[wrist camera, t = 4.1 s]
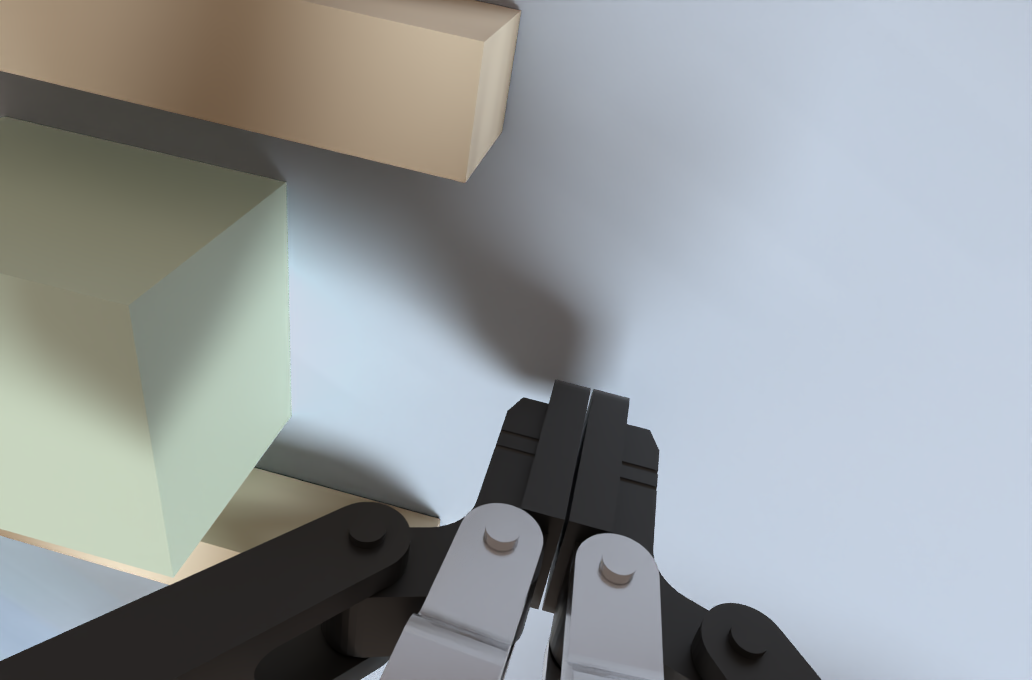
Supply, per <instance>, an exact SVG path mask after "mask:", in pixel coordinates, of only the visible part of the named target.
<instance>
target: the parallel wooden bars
mask: <svg viewBox="0 0 1032 680" xmlns="http://www.w3.org/2000/svg"><path fill="white" fill-rule="evenodd" d="M520 15H521V10H516V9H512V8H507V7H503V6H498V5H494V4H489V3H485V2H480V1H476V0H0V71H3V72H7V73H11V74H15V75H20V76H24V77H28V78H32V79H36V80H40V81H44V82H49V83H53V84H57V85H61V86H65V87H69V88H73V89H78V90H82V91H86V92H90V93H94V94H98V95H103V96H107V97H111V98H115V99H119V100H123V101H127V102H132V103H136V104H140V105H144V106H148V107H152V108H156V109H161V110H165V111H169V112H173V113H177V114H181V115H185V116H190V117H194V118H198V119H202V120H206V121H210V122H215V123H219V124H223V125H227V126H231V127H235V128H239V129H244V130H248V131H252V132H256V133H260V134H264V135H268V136H273V137H277V138H281V139H285V140H289V141H293V142H298V143H302V144H306V145H310V146H314V147H318V148H322V149H327V150H331V151H335V152H339V153H343V154H347V155H351V156H356V157H360V158H364V159H368V160H372V161H376V162H380V163H385V164H389V165H393V166H397V167H401V168H405V169H410V170H414V171H418V172H422V173H426V174H430V175H434V176H439V177H443V178H447V179H451V180H455V181H459V182H463V183H466V181H467V180H468V179H469V177H470V176H471V174H472V173H473V172H474V170H475V169H476V167H477V166H478V165H479V163H480V162H481V160H482V159H483V158H484V156H485V155H486V154H487V152H488V151H489V149H490V148H491V147H492V145H493V144H494V142H495V141H496V140H497V138H498V137H499V135H500V134H501V133H502V129H503V122H504V116H505V110H506V103H507V97H508V91H509V85H510V78H511V72H512V66H513V59H514V53H515V47H516V40H517V34H518V28H519V22H520ZM358 502H377V501H373V500H370V499H366V498H362V497H359V496H355V495H352V494H348V493H344V492H341V491H337V490H333V489H330V488H326V487H323V486H319V485H315V484H312V483H308V482H305V481H301V480H297V479H294V478H290V477H287V476H283V475H279V474H276V473H272V472H268V471H265V470H261V469H258V468H253V470H252V471H251V472H250V474H249V475H248V476H247V478H246V479H245V481H244V482H243V483H242V485H241V486H240V487H239V489H238V490H237V492H236V493H235V494H234V496H233V497H232V498H231V500H230V501H229V503H228V504H227V505H226V507H225V508H224V509H223V511H222V512H221V513H220V515H219V516H218V518H217V519H216V520H215V522H214V523H213V524H212V526H211V527H210V529H209V530H208V531H207V533H206V534H205V535H204V537H203V538H202V540H201V541H200V542H199V544H198V545H197V546H196V548H195V549H194V550H193V552H192V553H191V555H190V556H189V557H188V559H187V560H186V561H185V563H184V564H183V566H182V567H181V568H180V570H179V571H178V572H177V574H176V575H175V577H174V578H172V577H169V576H165V575H162V574H158V573H154V572H151V571H147V570H144V569H140V568H137V567H133V566H130V565H126V564H123V563H119V562H116V561H112V560H109V559H105V558H101V557H98V556H94V555H91V554H87V553H84V552H80V551H77V550H73V549H70V548H66V547H63V546H59V545H55V544H52V543H48V542H45V541H41V540H38V539H34V538H31V537H27V536H24V535H20V534H17V533H13V532H10V531H6V530H2V529H0V536H4V537H7V538H11V539H14V540H17V541H21V542H24V543H28V544H31V545H35V546H38V547H41V548H45V549H48V550H52V551H55V552H59V553H62V554H65V555H69V556H72V557H76V558H79V559H82V560H86V561H89V562H93V563H96V564H100V565H103V566H106V567H110V568H113V569H117V570H120V571H124V572H127V573H130V574H134V575H137V576H141V577H144V578H147V579H151V580H154V581H158V582H161V583H165V584H168V585H171V584H173V583H175V582H178V581H180V580H182V579H184V578H187V577H189V576H191V575H193V574H195V573H198V572H200V571H202V570H204V569H207V568H209V567H211V566H213V565H215V564H218V563H220V562H222V561H224V560H227V559H229V558H231V557H233V556H235V555H238V554H240V553H242V552H244V551H247V550H249V549H251V548H253V547H256V546H258V545H260V544H262V543H264V542H267V541H269V540H271V539H273V538H276V537H278V536H280V535H282V534H284V533H287V532H289V531H291V530H293V529H296V528H298V527H300V526H302V525H304V524H307V523H309V522H311V521H313V520H316V519H318V518H320V517H322V516H324V515H327V514H329V513H331V512H333V511H336V510H338V509H340V508H342V507H345V506H347V505H350V504H353V503H358ZM377 503H380V502H377ZM382 504H384V503H382ZM385 505H388V504H385ZM388 506H390V507H392V508H394V509H395V510H397V511H398V512H400V513H401V514H402V515H403V516H404V518H405V519H406V521H407V522H408V524H409V527H439V526H440V519H438V518H435V517H431V516H427V515H424V514H420V513H416V512H413V511H409V510H406V509H402V508H398V507H395V506H391V505H388Z"/></svg>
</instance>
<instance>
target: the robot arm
mask: <svg viewBox="0 0 1032 680" xmlns="http://www.w3.org/2000/svg"><path fill="white" fill-rule="evenodd" d="M590 390H591V388H587V387H583V386H579V385H575V384H571V383H568V382H564V381H560V380H555V383H554V387H553V391H552V394H551V398H550V402H549V404H547V403H543V402H539V401H535V400H532V399H528V398H524V397H523V398H522V399H521V400H520V401H519V402H517V403H516V404H515V405H514V406H513V407H512V408H510V409H509V410H508V411H507V414H506V417H505V420H504V423H503V426H502V429H501V433H500V435H499V438H498V441H497V444H496V447H495V449H494V452H493V455H492V458H491V461H490V464H489V467H488V470H487V473H486V476H485V479H484V482H483V484H482V487H481V490H480V493H479V496H478V499H477V502H476V504H475V506H474V507H473V509H472V510H471V511H470V512H469V513H468V514H467V515H466V516H465V517H464V518H462V519H461V520H459V521H457V522H455V523H452V524H449V525H445V526H440V527H409V524H408V522H407V521H406V519H405V518H404V516H403V515H402V514H401V513H400V512H398V511H397V510H395V509H394V508H392V507H390V506H388V505H385V504H382V503H377V502H358V503H353V504H350V505H347V506H345V507H342V508H340V509H338V510H336V511H333V512H331V513H329V514H327V515H324V516H322V517H320V518H318V519H316V520H313V521H311V522H309V523H307V524H304V525H302V526H300V527H298V528H296V529H293V530H291V531H289V532H287V533H284V534H282V535H280V536H278V537H276V538H273V539H271V540H269V541H267V542H264V543H262V544H260V545H258V546H256V547H253V548H251V549H249V550H247V551H244V552H242V553H240V554H238V555H235V556H233V557H231V558H229V559H227V560H224V561H222V562H220V563H218V564H215V565H213V566H211V567H209V568H207V569H204V570H202V571H200V572H198V573H195V574H193V575H191V576H189V577H187V578H184V579H182V580H180V581H178V582H175V583H173V584H171V585H169V586H167V587H164V588H162V589H160V590H158V591H155V592H153V593H151V594H149V595H146V596H144V597H142V598H140V599H138V600H135V601H133V602H131V603H129V604H126V605H124V606H122V607H120V608H118V609H115V610H113V611H111V612H109V613H106V614H104V615H102V616H100V617H98V618H95V619H93V620H91V621H89V622H86V623H84V624H82V625H80V626H78V627H75V628H73V629H71V630H69V631H66V632H64V633H62V634H60V635H57V636H55V637H53V638H51V639H49V640H46V641H44V642H42V643H40V644H37V645H35V646H33V647H31V648H29V649H26V650H24V651H22V652H20V653H17V654H15V655H13V656H11V657H9V658H6V659H4V660H2V661H0V680H361V679H362V678H364V677H365V676H367V675H369V674H370V673H372V672H374V671H375V670H377V669H378V668H380V667H381V666H383V665H384V664H385V663H386V662H387V661H388V660H389V661H388V663H387V665H386V667H385V669H384V671H383V674H382V676H381V678H380V680H504V678H505V675H506V672H507V669H508V666H509V662H510V659H511V656H512V653H513V650H514V647H515V643H516V641H517V640H518V639H519V638H520V636H521V634H522V632H523V629H524V626H525V622H526V618H527V615H528V611H529V608H530V607H532V608H535V609H538V608H539V605H540V602H541V598H542V595H543V592H544V588H545V585H546V582H547V578H548V575H549V578H548V583H547V588H546V593H545V598H544V603H543V608H542V610H543V611H547V612H551V613H554V618H553V623H552V629H551V634H550V637H549V640H548V643H547V646H546V649H545V654H544V661H543V670H542V680H821V679H820V677H819V676H818V675H817V674H816V673H815V671H814V670H813V669H812V668H811V666H810V665H809V664H808V663H807V662H806V660H805V659H804V658H803V657H802V655H801V654H800V653H799V652H798V651H797V649H796V648H795V647H794V646H793V644H792V643H791V642H790V641H789V640H788V638H787V637H786V636H785V635H784V633H783V632H782V631H781V630H780V629H779V627H778V626H777V625H776V624H775V623H774V622H773V621H772V620H771V619H769V618H768V617H767V616H765V615H764V614H763V613H761V612H759V611H757V610H755V609H754V608H751V607H748V606H746V605H742V604H736V603H725V604H720V605H717V606H715V607H713V608H712V609H711V610H709V611H708V610H707V609H705V608H703V607H701V606H700V605H698V604H696V603H695V602H693V601H691V600H689V599H688V598H686V597H684V596H683V595H681V594H680V593H678V592H677V591H676V590H675V589H674V588H672V587H671V586H670V585H669V584H668V582H667V581H666V580H665V579H664V578H663V576H662V575H661V573H660V572H659V570H658V567H657V564H656V562H655V560H654V555H653V543H654V527H655V511H656V494H657V491H656V488H657V478H658V474H657V472H658V462H659V449H658V447H657V445H656V443H655V440H654V438H653V436H652V434H651V432H650V430H647V429H643V428H640V427H636V426H632V425H628V424H627V417H628V409H629V398H626V397H622V396H619V395H615V394H611V393H607V392H603V391H599V390H595V389H594V390H593V392H592V395H591V399H590V402H589V406H588V409H587V405H588V400H589V395H590ZM586 411H587V413H586ZM550 568H551V569H550ZM549 571H550V574H549Z"/></svg>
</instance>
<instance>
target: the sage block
mask: <svg viewBox="0 0 1032 680" xmlns="http://www.w3.org/2000/svg"><path fill="white" fill-rule="evenodd" d="M291 416H292V415H291V369H290V323H289V277H288V231H287V185H286V182H284V181H279V180H275V179H271V178H266V177H262V176H258V175H254V174H249V173H245V172H241V171H237V170H232V169H228V168H224V167H219V166H215V165H211V164H207V163H202V162H198V161H194V160H189V159H185V158H181V157H177V156H172V155H168V154H164V153H160V152H155V151H151V150H147V149H142V148H138V147H134V146H130V145H125V144H121V143H117V142H112V141H108V140H104V139H100V138H95V137H91V136H87V135H83V134H78V133H74V132H70V131H65V130H61V129H57V128H53V127H48V126H44V125H40V124H36V123H31V122H27V121H23V120H18V119H14V118H10V117H6V116H4V117H1V118H0V529H2V530H6V531H10V532H13V533H17V534H20V535H24V536H27V537H31V538H34V539H38V540H41V541H45V542H48V543H52V544H55V545H59V546H63V547H66V548H70V549H73V550H77V551H80V552H84V553H87V554H91V555H94V556H98V557H101V558H105V559H109V560H112V561H116V562H119V563H123V564H126V565H130V566H133V567H137V568H140V569H144V570H147V571H151V572H154V573H158V574H162V575H165V576H169V577H172V578H174V577H175V575H176V574H177V572H178V571H179V570H180V568H181V567H182V566H183V564H184V563H185V561H186V560H187V559H188V557H189V556H190V555H191V553H192V552H193V550H194V549H195V548H196V546H197V545H198V544H199V542H200V541H201V540H202V538H203V537H204V535H205V534H206V533H207V531H208V530H209V529H210V527H211V526H212V524H213V523H214V522H215V520H216V519H217V518H218V516H219V515H220V513H221V512H222V511H223V509H224V508H225V507H226V505H227V504H228V503H229V501H230V500H231V498H232V497H233V496H234V494H235V493H236V492H237V490H238V489H239V487H240V486H241V485H242V483H243V482H244V481H245V479H246V478H247V476H248V475H249V474H250V472H251V471H252V470H253V468H254V467H255V466H256V464H257V463H258V461H259V460H260V459H261V457H262V456H263V455H264V453H265V452H266V450H267V449H268V448H269V446H270V445H271V444H272V442H273V441H274V439H275V438H276V437H277V435H278V434H279V433H280V431H281V430H282V429H283V427H284V426H285V424H286V423H287V422H288V420H289V419H290V418H291Z"/></svg>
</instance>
